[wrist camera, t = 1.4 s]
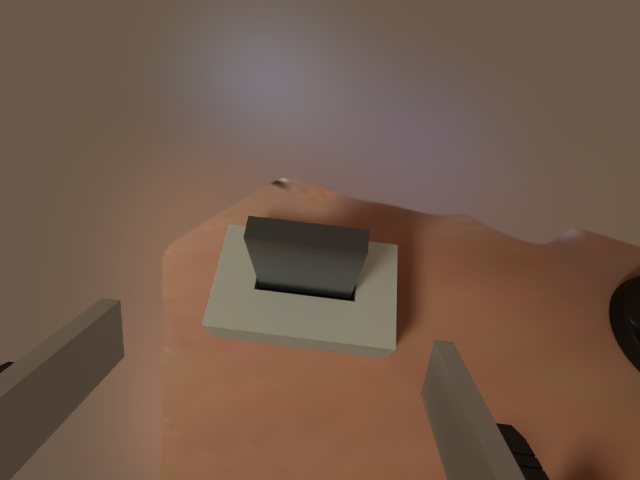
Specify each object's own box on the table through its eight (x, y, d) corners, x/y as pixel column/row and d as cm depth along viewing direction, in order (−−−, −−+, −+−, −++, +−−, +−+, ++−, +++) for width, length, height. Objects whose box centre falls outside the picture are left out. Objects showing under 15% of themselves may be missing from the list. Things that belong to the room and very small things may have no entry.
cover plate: (347, 292, 43) (369, 230, 29) (346, 308, 42) (368, 252, 28) (266, 282, 43) (248, 215, 29) (263, 297, 42) (243, 237, 28)
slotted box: (386, 264, 47) (397, 244, 41) (383, 358, 41) (395, 349, 36) (237, 246, 47) (228, 224, 42) (214, 337, 42) (201, 325, 36)
